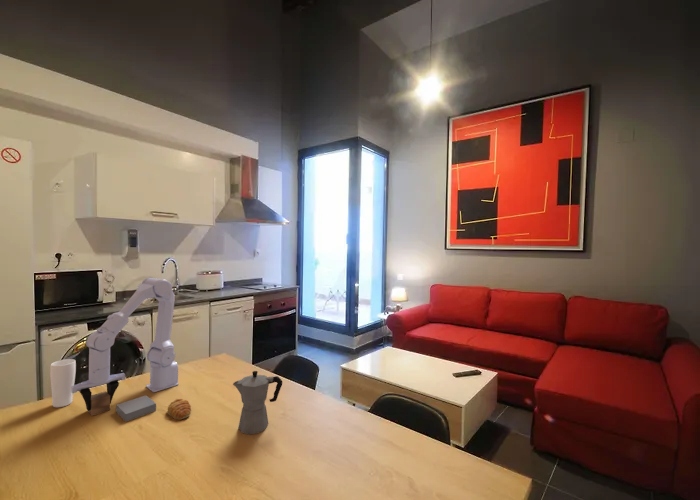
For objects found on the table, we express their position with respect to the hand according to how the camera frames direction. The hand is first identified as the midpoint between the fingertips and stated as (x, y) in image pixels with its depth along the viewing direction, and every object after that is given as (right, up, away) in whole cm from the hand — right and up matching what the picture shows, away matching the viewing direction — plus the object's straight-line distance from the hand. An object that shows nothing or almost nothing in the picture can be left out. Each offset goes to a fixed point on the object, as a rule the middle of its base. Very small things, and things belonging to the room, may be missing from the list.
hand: (98, 406), depth 109 cm
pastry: (+28, -3, 0) cm, 28 cm away
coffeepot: (+56, -4, -6) cm, 57 cm away
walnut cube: (0, -1, 0) cm, 1 cm away
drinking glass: (-15, -1, +3) cm, 16 cm away
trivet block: (+13, -2, 0) cm, 13 cm away
